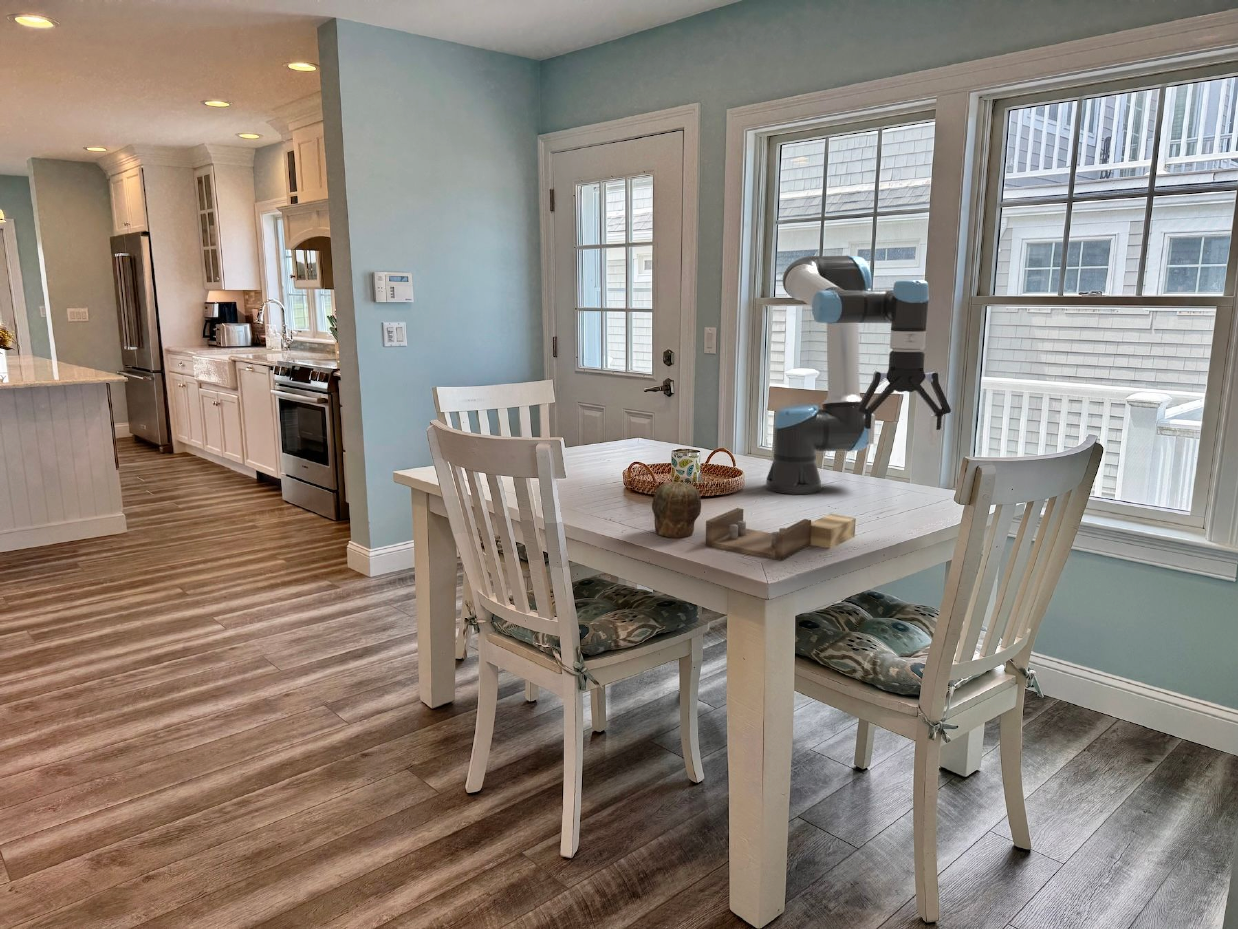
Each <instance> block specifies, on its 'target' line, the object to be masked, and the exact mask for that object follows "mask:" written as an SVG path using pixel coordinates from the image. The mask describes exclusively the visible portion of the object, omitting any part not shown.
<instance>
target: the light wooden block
mask: <svg viewBox="0 0 1238 929" xmlns="http://www.w3.org/2000/svg"><path fill="white" fill-rule="evenodd" d="M856 519H857V518H855V517H851V516H845V515H840V514H834V513H829V514H828V515H825V516H823V517H820V518H817V519H816V520H812V521H811V540H810V545H811V546H817V547H820V548H825V549H829V550H830V549H832V548H835V547H837V546H838V545H841V544H842V543H844V542H846V541H849V540H850V539H853V538H854V537H855V535H856ZM810 545H809V546H810Z"/></svg>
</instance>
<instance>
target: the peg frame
mask: <svg viewBox="0 0 1238 929" xmlns="http://www.w3.org/2000/svg"><path fill="white" fill-rule="evenodd" d="M811 522H812V519H806V518H803V519H801V520H799V521H797V522H796V523H794V524H792V525H790V526H788V527H780V528H779V530H778V531H772V532H767V531H761V530H755V529H749V528H747V521H745V520H744V508H739V507H736V508H734V509H732V510H728V511H727V512H724V513H722V514H720V515H717V516H714V517H712V518H709V519H708V520H706V521H705V546H706V547H711V548H714V549H715V548H717V549H720V550H721V549H722V550H726V551H731V552H735V553H736V552H737V553H740V554H741V553H742V554H745V555H751V556H756V557H761V558H768V559H771V560H777V561H781V562H782V561H785V560H786V559H788V558H790V557H792V556H793V555H795V554H797V553H799V552H800V551H801V550H804V549H805V548H806V547H808V546H810V540H811Z"/></svg>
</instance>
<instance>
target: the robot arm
mask: <svg viewBox="0 0 1238 929" xmlns="http://www.w3.org/2000/svg"><path fill="white" fill-rule="evenodd" d="M872 284H873V283H872V272H871V269H870V266H869V263H867V261H866V259H865V258H863V257H861V256H855V255H854V256H852V255H848V254H847V255H808V256H803V257H801V258H799V259H796V260H794V261H793V262H792V263H790V264H789V265H788V266H787V268H786V269H785V270H784V273H783V275H782V287H783V289H784V292H785V293H786V294H787V295H788V296H789V297H790V298H792V299H794V300H797V301H802V302H804V303H806V304H807V305H808V306H809V307H811V313H812V317H813V319H814V321H815V322H816V323H819V324H820V323H821V324H822V323H823V324H826V361H827V362H826V363H827V366H826V368H827V369H826V370H827V398H826V399H825V400H824V401H823V402H822V409H819V406H818V405H817V404H814V403H806V404H805V403H801V404H793V405H786V406H784V407H781V408H778V410H776V411H775V416H774V424H773V430H774V431H773V457H772V458H773V459H772V463H771V466H770V469H769V471H768V474H767V477H766V479H765V480H766V481H765V488H766V489H767V490H769V491H771V492H776V493H780V494H787V495H788V494H789V495H805V494H814V493H818V492H820V491H821V489H822V480H821V479H822V478H821V477H820V474H819V472H820V471H819V469H818V465H817V452H852V451H853V452H854V451H862V450H864V449H866V448H867V447H868V446H869V444H871V445H874V443H875V426H876V415H875V414H874V412H875V411H876V410H877V409H878V408H879V407H880V405H882V404H883V403H884V402H885V400H887V398H888V397H889V396H890V395H892V394H893V392H895V391H896V392H897V393H903V392H907V393H913V392H915V391H916V393H918V394H919V396H920V397H921V398H922V400H923V401H924V402H925V403H926V405H927V406H928V407H929V408H930V409H931V411H932V412H933V414H931V415H930V423H929V437H928V438H929V439H928V444H929V445H931V446H936V439H937V431H940V430H941V429H942V419H943V418H942V417H943V416H944V415H947V414H950V413H951V412H952V409H951V407H950V405H949V403H948V400H947V398H946V396H945V394H944V392H943V389H942V387H941V384H940V383H939V373H938V372H935V371H930V372H927V373H925V371H924V368H925V351H923V350H925V349H926V335H927V334H926V332H927V322H928V321H927V320H928V310H929V309H928V307H929V299H930V295H929V292H930V291H929V288H930V287H929V286H930V285H929V283H928V282H927V281H926V280H914V279H913V280H909V279H908V280H907V279H906V280H897V281H895V282H894V284H893V288H892V289H890V290H889V289H887V290H886V289H883V290H881V289H880V290H878V289H875V290H873V289H871V287H872ZM859 324H890V338H889V339H890V340H889V348H890V349H891V351H890V352H889V359H888V369H887V372H880V371H874V372H873V376H872V380H871V383H870V385H868V387H867V390H866V392H865V393H864V395H863V397H861V395H860V394H861V393H860V391H861V390H860V387H861V386H860V347H859V346H860V333H859V330H860V329H859ZM885 379H886V381H887V382H888V383H889V384H888V385H887V386H885V388H884V389H883V390H882V392H881V393H879V395H878V396H877V397H876V398H875V399H874V400H873V401H872V402H871V403H870V401H871V399H872V397H873V396H874V394H875V392H876V390H877V389H878V387H879V385H880V383H881V382H883V381H884V380H885ZM925 379H926V380H927V382H929V383H930V384H931V386H932V389H933V391H934V394H935V397H936V398H937V400H938V403H939V405H940V407H941V408H939V406H938V405H937V404H936V402H935V401H934V400H933V398H932V397H931V396H930V394H928V393H927V391H926V390H925V388H924V387H923V386H922V385H921V384H922V383H923V382H924V381H925ZM869 403H870V405H868V404H869ZM867 406H868V407H867Z"/></svg>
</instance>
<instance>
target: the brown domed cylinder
mask: <svg viewBox="0 0 1238 929" xmlns="http://www.w3.org/2000/svg"><path fill="white" fill-rule="evenodd" d="M701 500H702V499H701V494H700V492H699V490H698V489H697V488H696V487H695V486H694V485H692V484H690V483H685V482H680V483H678V482H676V481H672V482H665V483H662V484H661V485H659V486H658V488H657V489H656V490H655V493H654V495H653V499H652V503H651V509H652V512H653V515H654V516H653V517H654V520H653V522H654V529H655V532H656V533H657V535H659V536H662V537H667V538H675V539H680V538H688V537H690V536H692V535H693V533H694V530H695V524H696V523H695V522H696V520H697V519H698V517H699V516H700V515H701V512H702V501H701Z"/></svg>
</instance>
